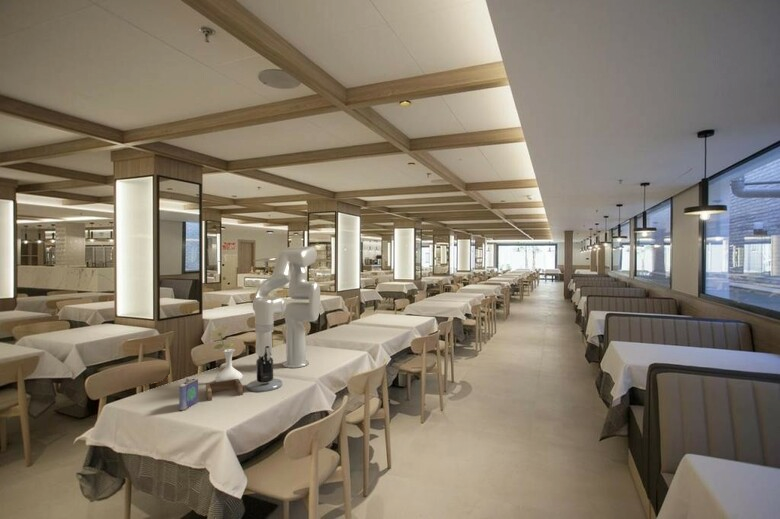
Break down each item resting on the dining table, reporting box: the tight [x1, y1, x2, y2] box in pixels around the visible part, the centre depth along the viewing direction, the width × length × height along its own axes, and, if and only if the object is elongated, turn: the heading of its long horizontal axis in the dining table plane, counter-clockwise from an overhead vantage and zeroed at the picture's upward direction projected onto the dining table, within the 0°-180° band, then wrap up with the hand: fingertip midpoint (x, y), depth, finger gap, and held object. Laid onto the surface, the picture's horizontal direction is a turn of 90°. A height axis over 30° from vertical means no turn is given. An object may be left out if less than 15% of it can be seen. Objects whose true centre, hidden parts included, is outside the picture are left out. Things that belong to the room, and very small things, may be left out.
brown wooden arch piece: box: [205, 379, 244, 402], centre depth 155 cm, size 11×12×4 cm
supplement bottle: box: [255, 355, 274, 382], centre depth 164 cm, size 7×7×12 cm
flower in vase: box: [209, 325, 244, 382], centre depth 170 cm, size 13×11×25 cm
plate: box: [246, 377, 283, 393], centre depth 164 cm, size 14×14×1 cm
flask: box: [178, 376, 199, 412], centre depth 142 cm, size 9×3×11 cm, turn 173°
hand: (264, 370), depth 164 cm, fingers closed on supplement bottle, 6 cm apart
